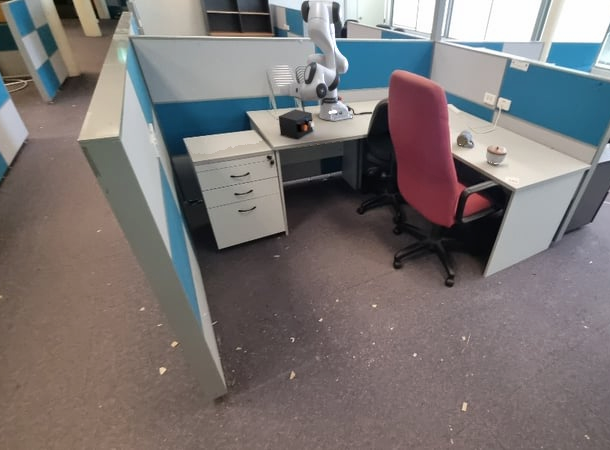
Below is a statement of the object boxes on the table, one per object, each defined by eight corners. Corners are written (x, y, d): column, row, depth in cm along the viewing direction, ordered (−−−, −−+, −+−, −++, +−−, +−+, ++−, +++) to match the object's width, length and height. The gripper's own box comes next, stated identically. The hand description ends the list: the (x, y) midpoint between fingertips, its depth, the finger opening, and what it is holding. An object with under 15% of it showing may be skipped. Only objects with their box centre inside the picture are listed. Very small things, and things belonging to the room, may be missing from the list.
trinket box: (485, 156, 190) (489, 141, 184) (504, 161, 187) (509, 145, 181) (482, 164, 182) (486, 148, 176) (502, 168, 179) (507, 152, 173)
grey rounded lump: (454, 145, 201) (457, 132, 196) (459, 140, 207) (461, 129, 202) (471, 149, 197) (474, 137, 193) (475, 145, 203) (478, 133, 199)
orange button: (304, 129, 194) (304, 123, 192) (307, 129, 194) (307, 124, 192) (301, 130, 192) (301, 125, 190) (304, 131, 191) (304, 126, 189)
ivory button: (311, 125, 199) (311, 120, 197) (314, 126, 199) (313, 121, 197) (308, 127, 197) (308, 122, 195) (311, 127, 196) (310, 122, 194)
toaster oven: (298, 126, 210) (297, 108, 203) (316, 130, 206) (315, 112, 199) (280, 135, 196) (278, 116, 189) (299, 139, 192) (297, 120, 185)
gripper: (322, 89, 181) (308, 91, 190) (288, 82, 167) (275, 84, 176) (321, 102, 182) (308, 102, 192) (288, 95, 168) (275, 96, 178)
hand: (292, 94), depth 184 cm, fingers closed
